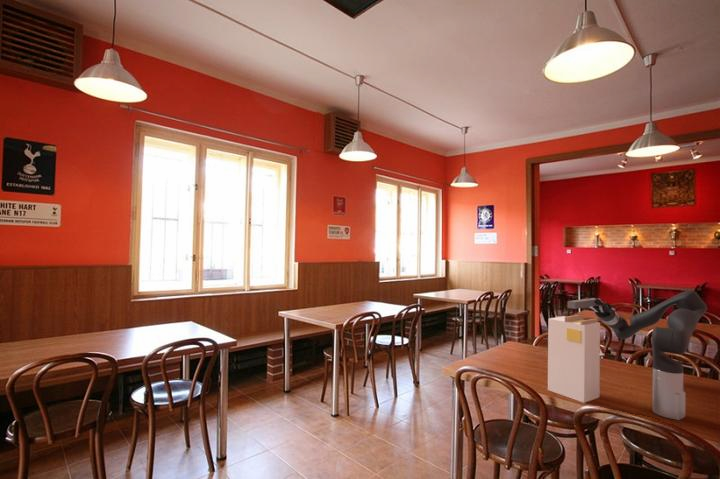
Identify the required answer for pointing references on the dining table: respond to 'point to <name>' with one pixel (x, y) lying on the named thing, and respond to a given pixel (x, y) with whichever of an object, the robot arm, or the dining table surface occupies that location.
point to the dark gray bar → (582, 303)
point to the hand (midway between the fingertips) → (591, 299)
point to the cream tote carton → (574, 357)
